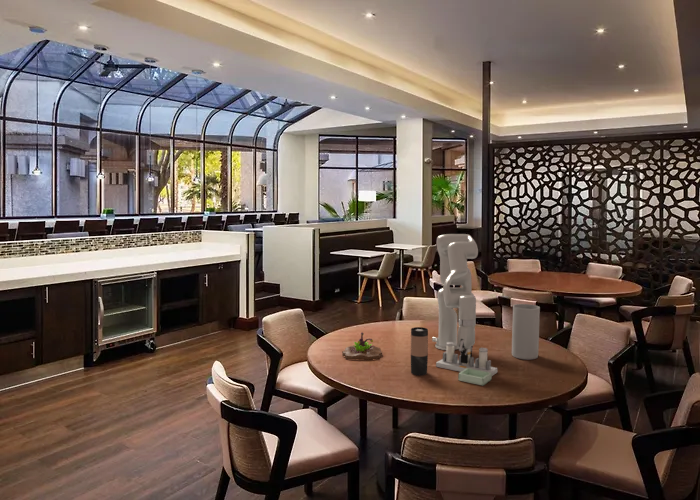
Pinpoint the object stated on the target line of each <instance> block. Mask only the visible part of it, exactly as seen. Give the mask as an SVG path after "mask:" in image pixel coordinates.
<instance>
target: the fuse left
mask: <svg viewBox="0 0 700 500" xmlns="http://www.w3.org/2000/svg"><path fill="white" fill-rule="evenodd" d="M454 345H455V343H453V342H447V343H446V350H445V352H446V362H447V363H453V356H454V355H455V350H454Z"/></svg>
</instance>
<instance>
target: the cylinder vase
mask: <svg viewBox="0 0 700 500" xmlns="http://www.w3.org/2000/svg"><path fill="white" fill-rule="evenodd" d="M540 311H541V307H540V305H539V306H538V305H535V304H526V303H517V304H514V305H512V327H511V328H512V330H511V331H512V332H511V334H512V335H511V355H512V357H514V358H516V359H519V360H525V361H526V360H528V361H530V360H535V359H538V357H539V344H540V343H539V342H540V314H541V313H540Z"/></svg>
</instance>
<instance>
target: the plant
mask: <svg viewBox="0 0 700 500" xmlns="http://www.w3.org/2000/svg"><path fill="white" fill-rule="evenodd" d="M364 334H365V333H364V332H363V331H362V332H361V333H360V335H361V336H360V338H359V339H358V341H354V342H353V343H354V345H349V346H347V347H345V348H344V350H342V351H341V355H342V356H341V357H343V356H345V357H344V359H345V358H346V360H348V359H364V360H363V361H374V360H373V359H376V360H379V359H380V358H381V357H380V356H382V357H383V351H382V350H381V348H380V347H378V346H375V345H373V342H374V339H372V338H366V339H364V337H363V336H364ZM369 341H370V342H371V344H369ZM378 358H379V359H378Z"/></svg>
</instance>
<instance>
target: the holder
mask: <svg viewBox="0 0 700 500" xmlns="http://www.w3.org/2000/svg"><path fill="white" fill-rule="evenodd" d="M435 367H437V368H442V369H446V370H451V371H454V372H455V371H456V372H458V373H460V372H462V371H463V370H465V369H467V368H470V369H475V370H480V371H485V372H490V373H492V377H493V376H494V375H495V374H497V373H498V367H494V366H492V360H491V359H489V360H488V359H487V369H486V370H481V369H479V357H477V358H475V357H474V356H472V357H471V358H470V366H463V365H462V363H461V354H460V355H459V354H458V353H454V356H453V363H447V362H446V351H444V352H442V358H441V359H440V360H438V361H436V362H435Z"/></svg>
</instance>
